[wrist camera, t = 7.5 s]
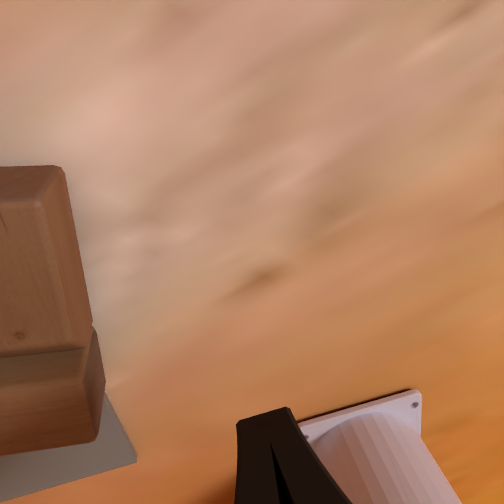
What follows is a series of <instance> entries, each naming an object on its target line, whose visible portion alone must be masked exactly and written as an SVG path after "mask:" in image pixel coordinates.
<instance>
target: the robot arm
mask: <svg viewBox="0 0 504 504" xmlns="http://www.w3.org/2000/svg"><path fill="white" fill-rule="evenodd" d="M421 411H422V395H421V393H420V392H419V391H418V390H415V389H413V390H409V391H406V392H402V393H399V394H395V395H392V396H388V397H385V398H382V399H378V400H375V401H371V402H368V403H365V404H361V405H358V406H354V407H351V408H348V409H344V410H341V411H337V412H334V413H331V414H327V415H324V416H320V417H317V418H314V419H310V420H307V421H303V422H300V423H298V424H297V422H296V420H295V418H294V416H293V414H292V412H291V409H290V408H287V407H283V408H279V409H276V410H273V411H269V412H266V413H262V414H259V415H256V416H252V417H249V418H246V419H242V420H239V422H238V423H237V424H236V429H237V478H236V490H235V501H234V504H462V503H461V501H460V500H459V498H458V496H457V495H456V493H455V492H454V490H453V488H452V487H451V485H450V484H449V482H448V480H447V479H446V477H445V476H444V474H443V473H442V471H441V469H440V468H439V466H438V465H437V463H436V461H435V460H434V458H433V457H432V455H431V453H430V452H429V450H428V449H427V447H426V445H425V444H424V442H423V441H422V439H421V438H420V436H421Z"/></svg>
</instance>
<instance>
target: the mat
mask: <svg viewBox="0 0 504 504" xmlns="http://www.w3.org/2000/svg"><path fill="white" fill-rule="evenodd" d="M133 463H137V454H136V452H135V450H134V448H133V446H132V444H131V442H130V440H129V438H128V436H127V434H126V432H125V430H124V429H123V427H122V425H121V423H120V421H119V419H118V417H117V415H116V413H115V411H114V409H113V407H112V405H111V403H110V401H109V399H108V398H107V396H106V394H105V392H104V397H103V405H102V413H101V420H100V428H99V433H98V436H97V438H96V440H95V441H93V442H91V443H86V444H79V445H73V446H66V447H59V448H52V449H45V450H39V451H32V452H25V453H18V454H12V455H5V456H0V502H3V501H6V500H10V499H13V498H17V497H20V496H23V495H27V494H30V493H34V492H37V491H41V490H44V489H47V488H51V487H54V486H58V485H61V484H65V483H68V482H71V481H75V480H78V479H82V478H85V477H89V476H92V475H95V474H99V473H102V472H106V471H109V470H113V469H116V468H119V467H123V466H126V465H130V464H133Z"/></svg>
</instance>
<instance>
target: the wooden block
mask: <svg viewBox="0 0 504 504" xmlns="http://www.w3.org/2000/svg"><path fill="white" fill-rule="evenodd" d="M92 321H93V320H92V314H91V309H90V304H89V299H88V293H87V288H86V283H85V278H84V272H83V267H82V262H81V257H80V251H79V246H78V241H77V236H76V230H75V225H74V220H73V214H72V209H71V204H70V199H69V193H68V188H67V183H66V178H65V173H64V171H63V170H62V168H61V167H58V166H55V165H45V166H13V167H0V456H5V455H12V454H18V453H25V452H32V451H39V450H45V449H52V448H59V447H66V446H73V445H79V444H86V443H91V442H93V441H95V440H96V438H97V436H98V433H99V428H100V420H101V413H102V405H103V397H104V390H105V382H106V380H105V375H104V370H103V364H102V359H101V354H100V348H99V343H98V338H97V333H96V331H95V329H94V328H93V327H92Z"/></svg>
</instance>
